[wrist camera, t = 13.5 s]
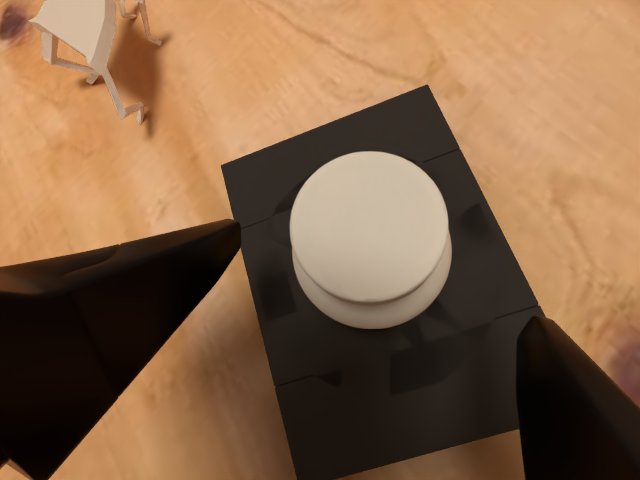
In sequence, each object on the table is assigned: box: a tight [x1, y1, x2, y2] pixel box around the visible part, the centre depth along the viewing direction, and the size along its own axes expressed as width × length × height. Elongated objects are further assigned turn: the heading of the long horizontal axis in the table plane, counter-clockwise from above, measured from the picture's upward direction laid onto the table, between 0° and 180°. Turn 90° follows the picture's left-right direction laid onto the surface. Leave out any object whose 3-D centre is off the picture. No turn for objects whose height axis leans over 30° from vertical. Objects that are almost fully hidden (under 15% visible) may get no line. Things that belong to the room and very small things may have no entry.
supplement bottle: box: [290, 151, 452, 329], centre depth 12 cm, size 5×5×10 cm
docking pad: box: [221, 85, 545, 480], centre depth 16 cm, size 16×12×2 cm
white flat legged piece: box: [28, 0, 162, 124], centre depth 21 cm, size 12×8×5 cm
